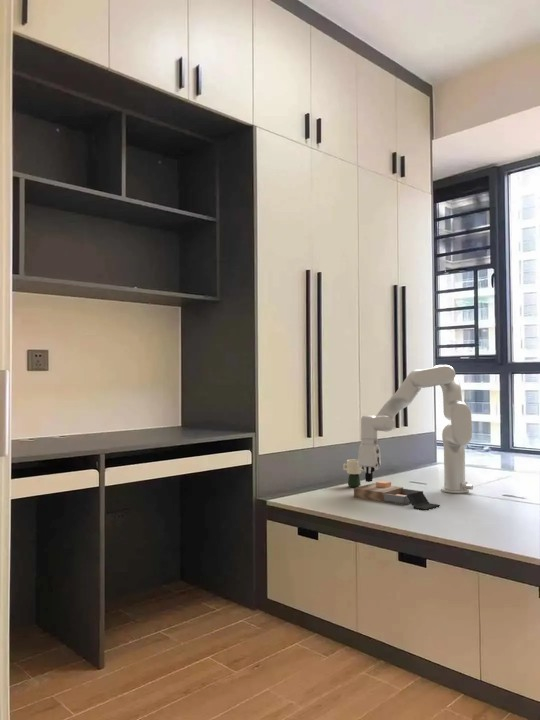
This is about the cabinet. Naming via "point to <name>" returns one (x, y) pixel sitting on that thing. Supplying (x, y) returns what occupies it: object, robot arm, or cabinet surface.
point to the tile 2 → (383, 484)
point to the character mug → (353, 472)
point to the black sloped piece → (420, 501)
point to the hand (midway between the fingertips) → (368, 481)
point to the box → (400, 497)
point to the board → (376, 491)
